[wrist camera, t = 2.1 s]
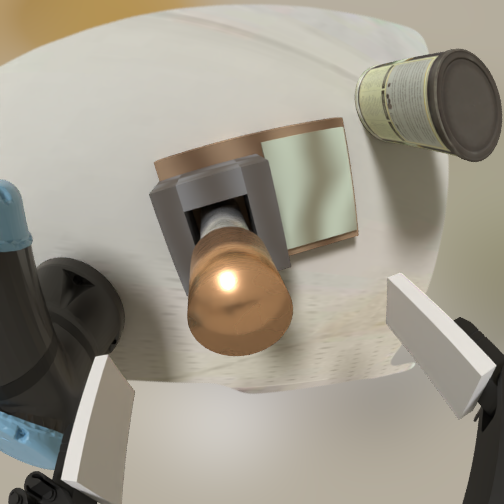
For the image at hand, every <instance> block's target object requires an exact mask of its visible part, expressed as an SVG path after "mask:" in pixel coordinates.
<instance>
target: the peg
mask: <svg viewBox="0 0 504 504" xmlns="http://www.w3.org/2000/svg"><path fill="white" fill-rule="evenodd" d="M292 315H293V305H292V300H291V297H290V295H289V293H288V291H287V289H286V287H285V285H284V283H283V281H282V279H281V276H280V274H279V272H278V270H277V268H276V266H275V264H274V262H273V260H272V258H271V256H270V254H269V252H268V250H267V248H266V246H265V244H264V243H263V241H262V240H261V239H260V238H259V237H258V236H257V235H256V234H254V233H253V232H251V231H249V229H248V227H247V225H246V222H245V220H244V218H243V215H242V213H241V210H240V208H239V206H238V204H237V202H236V201H235V200H234V199H233V198H231V199H227V200H224V201H220V202H217V203H213V204H210V205H206V206H203V207H202V209H201V229H200V241H199V242H198V243H197V245H196V246H195V248H194V250H193V253H192V256H191V265H190V279H189V294H188V313H187V318H188V325H189V328H190V331H191V333H192V334H193V336H194V337H195V339H196V340H197V341H198V342H199V343H200V344H201V345H203V346H204V347H205V348H207V349H209V350H211V351H213V352H216V353H219V354H222V355H228V356H244V355H250V354H254V353H257V352H260V351H262V350H264V349H266V348H268V347H270V346H271V345H273V344H274V343H276V342H277V341H278V340H279V339H280V338H281V337H282V336H283V335H284V333H285V332H286V330H287V329H288V327H289V325H290V322H291V319H292Z"/></svg>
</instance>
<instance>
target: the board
mask: <svg viewBox="0 0 504 504" xmlns="http://www.w3.org/2000/svg"><path fill="white" fill-rule="evenodd" d="M154 165H155V168H156V171H157V174H158V178H159V183H158V184H157V185H156V186H155V188H154V189H153V190H152V191H151V193H150V194H149V195H150V198H151V201H152V204H153V207H154V210H155V213H156V216H157V219H158V222H159V224H160V227H161V230H162V233H163V236H164V238H165V241H166V244H167V246H168V249H169V252H170V254H171V257H172V260H173V262H174V265H175V267H176V270H177V272H178V275H179V277H180V280H181V282H182V285H183V287H184V290H185V292H186V295H187V296H188V294H189V279H190V265H191V256H192V253H193V250H194V248H195V246H196V245H197V243H198V242H199V241H200V229H201V209H202V207H203V206H206V205H210V204H213V203H217V202H220V201H224V200H227V199H231V198H233V199H234V200H235V201H236V202H237V204H238V206H239V208H240V210H241V213H242V215H243V218H244V220H245V222H246V225H247V227H248V229H249V231H251V232H253V233H254V234H256V235H257V236H258V237H259V238H260V239H261V240H262V241H263V243H264V244H265V246H266V248H267V250H268V252H269V254H270V256H271V258H272V260H273V262H274V264H275V266H276V268H277V270H278V271H279V270H282V269H286V268H289V267H291V264H290V259H289V256H290V255H293V254H297V253H300V252H304V251H307V250H311V249H314V248H317V247H321V246H324V245H328V244H331V243H334V242H338V241H341V240H345V239H348V238H351V237H355V236H358V235H359V234H358V223H357V213H356V204H355V195H354V187H353V180H352V172H351V165H350V159H349V153H348V146H347V140H346V135H345V129H344V124H343V119H342V118H329V119H322V120H316V121H311V122H305V123H300V124H294V125H289V126H284V127H279V128H274V129H270V130H265V131H261V132H256V133H252V134H248V135H244V136H240V137H236V138H232V139H228V140H224V141H220V142H216V143H213V144H209V145H206V146H202V147H199V148H195V149H192V150H188V151H185V152H182V153H179V154H175V155H172V156H169V157H166V158H163V159H160V160H157V161H156V162H154Z"/></svg>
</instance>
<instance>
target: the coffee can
mask: <svg viewBox="0 0 504 504" xmlns="http://www.w3.org/2000/svg"><path fill="white" fill-rule="evenodd" d="M355 102H356V109H357V112H358V115H359V117H360V119H361V121H362V123H363V124H364V126H365V128H366V129H367V130H368V131H369V132H370V133H371V134H372V135H373V136H375V137H376V138H378V139H379V140H382V141H384V142H388V143H398V144H403V145H409V146H414V147H419V148H423V149H428V150H433V151H437V152H442V153H446V154H450V155H454V156H458V157H460V158H461V159H464V160H467V161H471V162H478V161H482V160H484V159H485V158H487V157H488V156H489V155H490V154H491V153H492V151H493V150H494V148H495V147H496V145H497V142H498V140H499V137H500V133H501V127H502V108H501V100H500V96H499V92H498V89H497V86H496V83H495V81H494V79H493V77H492V75H491V73H490V71H489V70H488V68H487V67H486V66H485V64H484V63H483V62H482V61H481V60H480V59H479V58H478V57H477V56H475V55H474V54H473V53H471V52H469V51H467V50H464V49H451V50H448V51H446V52H440V53H434V54H428V55H423V56H418V57H413V58H408V59H404V60H399V61H394V62H390V63H386V64H381V65H375V66H373V67H371V68H369V69H367V70H366V71H365V72H364V73H363V74H362V76H361V77H360V79H359V81H358V83H357V86H356V91H355Z"/></svg>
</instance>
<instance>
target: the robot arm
mask: <svg viewBox="0 0 504 504" xmlns="http://www.w3.org/2000/svg"><path fill="white" fill-rule="evenodd" d="M32 241H33V240H32V235H31V233H30V232H29V231H28V226H27V222H26V217H25V212H24V207H23V201H22V197H21V194H20V192H19V190H18V189H17V188H16V187H15V186H14V185H13V184H12V183H10V182H9V181H6V180H1V179H0V451H2V452H3V453H5V454H7V455H9V456H11V457H13V458H15V459H17V460H20V461H22V462H24V463H27V464H30V465H33V466H36V467H40V468H43V469H49V470H54V474H53V479H52V480H51V479H50V478H48V477H47V476H46V475H44V474H43V473H41V472H39V471H35V472H32V473H30V474H29V475H28V476H27V478H26V480H25V484H24V489H25V491H24V490H23V489H21V488H15V489H13V490H12V491H11V493H10V495H9V501H8V503H9V504H97V502H99V503H100V504H122V492H123V480H124V469H125V458H126V451H127V450H126V449H127V442H128V434H129V427H130V420H131V413H132V406H133V401H134V395H135V391H134V390H133V388H132V387H131V386H130V384H129V383H128V382H127V380H126V379H125V378H124V376H123V375H122V373H121V372H120V371H119V369H118V368H117V366H116V365H115V364H114V362H113V361H112V359H111V358H110V356H109V354H110V353H111V352H112V351H113V349H114V348H115V347H116V345H117V344H118V342H119V339H120V337H121V333H122V330H123V327H124V310H123V306H122V303H121V300H120V298H119V296H118V294H117V292H116V291H115V289H114V288H113V286H112V285H111V284H110V283H109V281H108V280H107V279H106V278H105V277H104V276H103V275H102V274H100V273H99V272H98V271H97V270H95V269H94V268H92V267H91V266H89V265H87V264H85V263H83V262H81V261H78V260H75V259H71V258H53V259H49V260H47V261H45V262H43V263H42V264H40V265H39V266H38V267H37V268H36V265H35V261H34V256H33V252H32V247H31V244H32ZM386 324H387V325H388V326H389V328H390V329H391V330H392V331H393V333H394V334H395V335H396V336H397V338H398V339H399V340H400V341H401V343H402V344H403V345H404V347H405V348H406V349H407V350H408V352H409V353H410V354H411V355H412V357H413V358H414V359H415V361H416V362H417V363H418V365H419V366H420V367H421V368H422V370H423V371H424V373H425V374H426V375H427V377H428V378H429V379H430V381H431V382H432V383H433V385H434V386H435V387H436V389H437V390H438V391H439V393H440V394H441V396H442V397H443V398H444V400H445V401H446V402H447V404H448V405H449V407H450V408H451V410H452V411H453V412H454V414H455V415H456V416H457V418H458V419H461V418H462V417H464V416H465V415H467V414H468V413H470V412H471V411H473V409H474V407H475V406H476V404H477V402H478V403H479V404H480V405H481V408H480V410H479V411H478V413H477V414H476V416H475V418H474V421H476V420H477V419H478V417H479V423H478V431H477V438H476V445H475V451H474V457H473V462H472V467H471V472H470V477H469V481H468V485H467V489H466V493H465V497H464V500H463V504H504V355H503V354H502V353H501V352H500V351H499V349H498V348H497V347H496V346H495V345H493V344H492V342H490V340H488V339H487V337H484V334H482V333H481V332H480V331H478V329H477V328H476V327H475V326H474V325H473V324H472V323H471V322H469V321H467V320H465V319H463V318H461V317H459V318H457V319H455V320H454V321H453V320H452V319H451V318H450V317H449V316H448V315H447V314H446V313H445V312H444V311H442V310H441V309H440V308H439V307H438V306H437V305H436V304H435V303H434V302H433V301H432V300H431V299H430V298H429V297H428V296H426V295H425V294H424V293H423V292H422V291H421V290H420V289H419V288H418V287H417V286H416V285H414V284H413V283H412V282H411V281H410V280H409V279H408V278H407V277H405V276H404V275H403V274H402V273H398V274H396V275H393V276H390V277H387V311H386Z"/></svg>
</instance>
